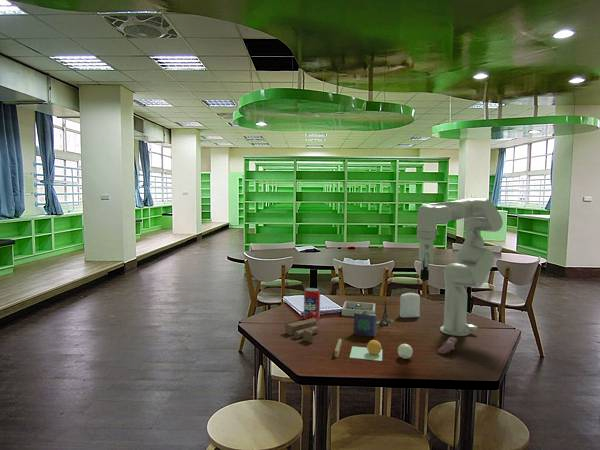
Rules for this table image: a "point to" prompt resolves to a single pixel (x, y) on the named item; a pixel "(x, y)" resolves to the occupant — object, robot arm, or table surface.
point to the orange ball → (374, 347)
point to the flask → (365, 324)
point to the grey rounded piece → (358, 306)
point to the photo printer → (409, 305)
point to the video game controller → (447, 345)
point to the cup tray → (352, 305)
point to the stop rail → (338, 348)
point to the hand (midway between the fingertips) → (424, 279)
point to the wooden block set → (303, 329)
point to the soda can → (311, 303)
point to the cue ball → (405, 351)
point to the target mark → (364, 354)
